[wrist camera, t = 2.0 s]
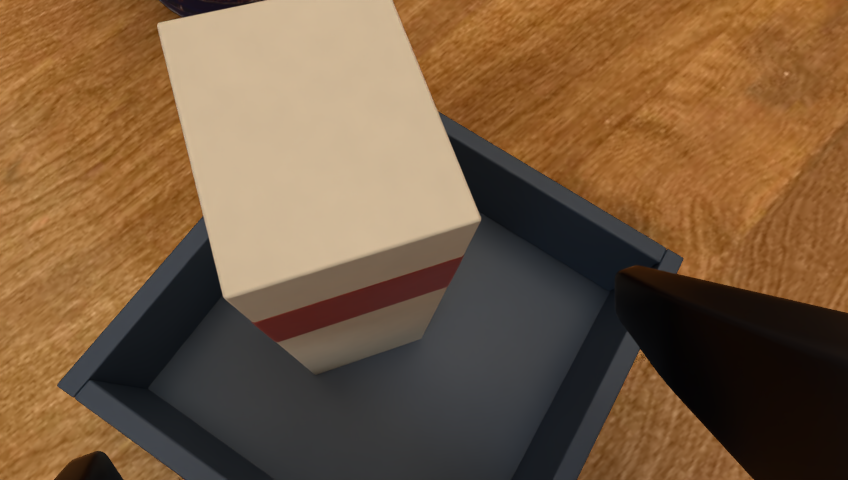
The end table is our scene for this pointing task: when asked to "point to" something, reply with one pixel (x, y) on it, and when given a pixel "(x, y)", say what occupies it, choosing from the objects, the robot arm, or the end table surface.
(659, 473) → the end table surface
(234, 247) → the plate
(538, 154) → the end table surface
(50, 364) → the end table surface
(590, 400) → the box
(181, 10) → the dark blue cylinder
